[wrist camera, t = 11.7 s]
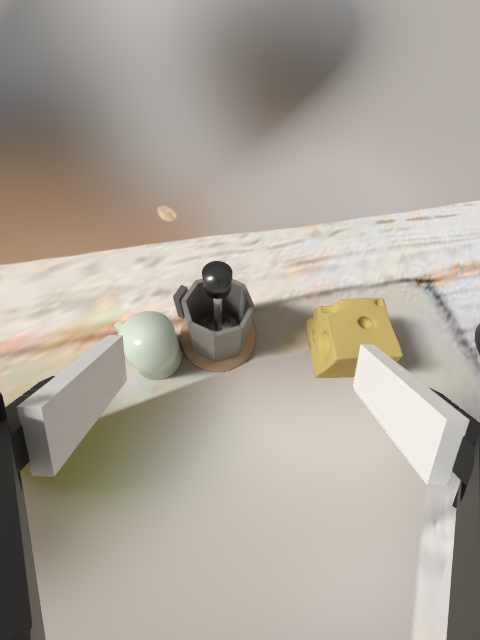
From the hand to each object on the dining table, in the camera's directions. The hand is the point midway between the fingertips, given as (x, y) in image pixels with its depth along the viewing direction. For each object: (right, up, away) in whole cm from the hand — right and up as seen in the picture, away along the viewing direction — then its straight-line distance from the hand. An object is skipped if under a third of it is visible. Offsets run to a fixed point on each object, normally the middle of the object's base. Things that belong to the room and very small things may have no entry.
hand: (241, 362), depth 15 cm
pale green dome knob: (-15, -4, +31) cm, 35 cm away
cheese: (+17, -3, +34) cm, 38 cm away
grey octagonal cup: (-4, -1, +34) cm, 34 cm away
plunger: (-4, 0, +32) cm, 32 cm away
